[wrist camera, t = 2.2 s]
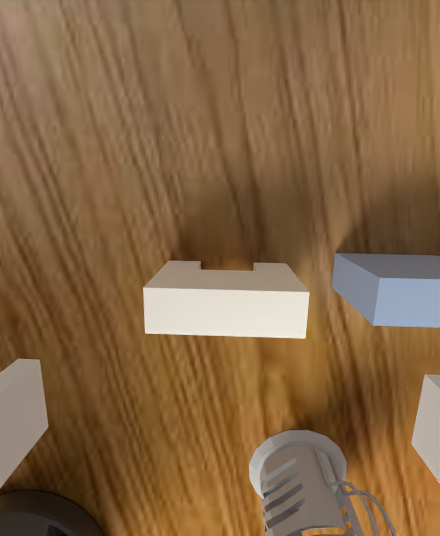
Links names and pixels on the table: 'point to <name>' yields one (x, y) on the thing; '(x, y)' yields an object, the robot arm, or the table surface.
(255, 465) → the french press
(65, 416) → the table surface
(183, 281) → the white notched block
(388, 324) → the blue batten
